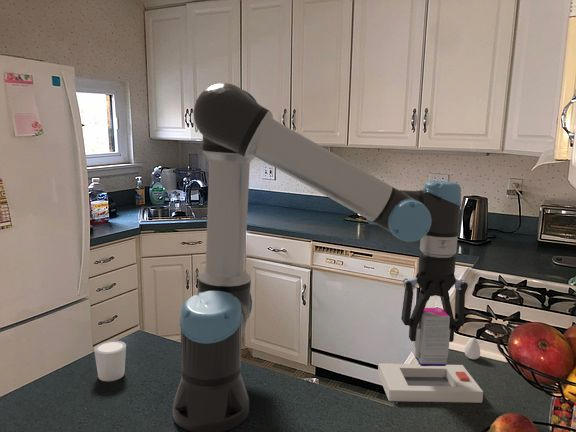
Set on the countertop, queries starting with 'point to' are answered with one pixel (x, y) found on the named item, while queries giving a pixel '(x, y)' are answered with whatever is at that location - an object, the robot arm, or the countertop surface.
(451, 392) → the socket plate
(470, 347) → the egg
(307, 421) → the countertop surface
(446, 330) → the supplement box
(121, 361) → the white candle
